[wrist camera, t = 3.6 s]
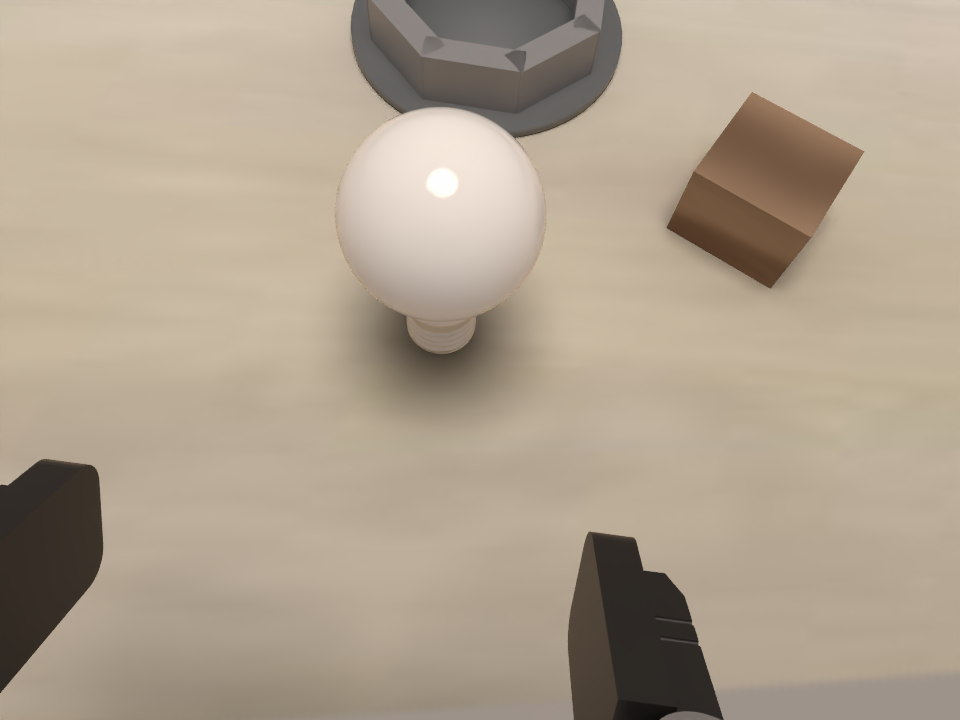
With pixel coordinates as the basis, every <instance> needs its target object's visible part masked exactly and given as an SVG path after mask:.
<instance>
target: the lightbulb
mask: <svg viewBox="0 0 960 720" xmlns="http://www.w3.org/2000/svg"><path fill="white" fill-rule="evenodd" d="M335 223H336V231H337V236H338V240H339V244H340V247H341V250H342V253H343V255H344V258H345V260H346V262H347V264H348V266H349V268H350V269H351V271H352V272H353V274H354V276H355V277H356V278H357V280H358V281H359V282H360V283H361V285H362V286H363V287H364V288H365V289H366V290H367V291H368V292H369V293H370V294H371V295H372V296H373V297H375V298H376V299H377V300H378V301H380V302H381V303H383V304H384V305H386V306H387V307H389V308H391V309H392V310H394V311H396V312H399V313H401V314H403V315H406V320H407V329H408V332H409V335H410V337H411V338H412V340H413V341H414V342H415V343H416V344H417V345H418V346H419V347H420V348H422V349H423V350H425V351H428V352H431V353H435V354H448V353H452V352H455V351H457V350H459V349H461V348H462V347H464V346H465V345H466V344H467V343H468V342H469V341H470V339H471V338H472V336H473V334H474V331H475V325H476V316H478V315H480V314H483V313H485V312H487V311H489V310H491V309H493V308H494V307H496V306H498V305H499V304H501V303H502V302H503V301H505V300H506V299H507V298H508V297H510V296H511V295H512V294H513V293H514V292H515V291H516V290H517V289H518V288H519V287H520V286H521V284H522V283H523V282H524V281H525V279H526V278H527V276H528V275H529V273H530V272H531V270H532V268H533V267H534V265H535V263H536V261H537V258H538V256H539V253H540V251H541V248H542V244H543V240H544V235H545V229H546V201H545V195H544V190H543V186H542V183H541V180H540V177H539V174H538V172H537V170H536V168H535V166H534V164H533V162H532V160H531V158H530V157H529V155H528V154H527V152H526V151H525V150H524V148H523V147H522V146H521V145H520V143H519V142H518V141H517V140H516V139H515V138H514V137H513V136H512V135H511V134H510V133H508V132H507V131H506V130H505V129H504V128H502V127H501V126H499V125H498V124H496V123H495V122H493V121H491V120H490V119H488V118H486V117H484V116H481V115H479V114H476V113H474V112H471V111H467V110H463V109H458V108H451V107H428V108H421V109H417V110H412V111H409V112H406V113H403V114H401V115H398V116H396V117H394V118H392V119H390V120H388V121H387V122H385V123H383V124H382V125H380V126H379V127H378V128H376V129H375V130H374V131H373V132H372V133H370V134H369V135H368V136H367V137H366V138H365V139H364V140H363V141H362V143H361V144H360V145H359V146H358V147H357V149H356V150H355V151H354V153H353V154H352V156H351V158H350V159H349V161H348V163H347V165H346V167H345V169H344V171H343V174H342V177H341V179H340V183H339V186H338V190H337V196H336V203H335Z"/></svg>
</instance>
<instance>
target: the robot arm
mask: <svg viewBox="0 0 960 720" xmlns="http://www.w3.org/2000/svg"><path fill="white" fill-rule="evenodd" d="M102 555H103V534H102V517H101V501H100V485H99V476H98V472H97V470H96V469H95V467H93V466H92V465H86V464H79V463H71V462H64V461H56V460H49V459H43V460H40V461H38V462H37V463H35V464H34V465H33V466H32V467H30V468H29V469H28V470H27V471H26V472H24V473H23V474H22V475H21V476H19V477H18V478H17V479H16V480H14V481H13V482H12V483H11V484H9V485H8V486H7V485H0V693H1V692H2V690H3V689H4V688H5V687H6V686H7V684H8V683H9V682H10V681H11V680H12V679H13V677H14V676H15V675H16V674H17V673H18V671H19V670H20V669H21V668H22V667H23V665H24V664H25V663H26V662H27V661H28V660H29V658H30V657H31V656H32V655H33V654H34V652H35V651H36V650H37V649H38V648H39V646H40V645H41V644H42V643H43V642H44V640H45V639H46V638H47V637H48V636H49V635H50V633H51V632H52V631H53V630H54V629H55V627H56V626H57V625H58V624H59V623H60V621H61V620H62V619H63V618H64V617H65V616H66V614H67V613H68V612H69V611H70V610H71V608H72V607H73V606H74V605H75V604H76V602H77V601H78V600H79V599H80V598H81V597H82V595H83V594H84V593H85V592H86V591H87V589H88V588H89V587H90V586H91V584H92V583H93V581H94V579H95V577H96V575H97V573H98V570H99V567H100V564H101V560H102ZM568 654H569V666H570V678H571V690H572V701H573V713H574V720H723V717H722V713H721V710H720V707H719V704H718V701H717V697H716V694H715V691H714V688H713V685H712V682H711V679H710V675H709V672H708V669H707V666H706V663H705V660H704V656H703V653H702V650H701V647H700V646H698V637H697V634H696V631H695V628H694V626H693V625H692V619H691V615H690V612H689V609H688V606H687V603H686V600H685V596H684V595H683V594H682V593H681V592H680V591H679V589H678V588H677V587H676V586H675V585H674V584H673V582H672V581H671V580H670V579H669V578H668V577H667V575H666V574H665V573H658V572H650V571H643V567H642V563H641V559H640V555H639V551H638V547H637V543H636V540H635V538H633V537H625V536H618V535H610V534H603V533H596V532H589V533H588V534H587V537H586V540H585V544H584V548H583V553H582V558H581V563H580V568H579V572H578V577H577V582H576V587H575V592H574V597H573V601H572V606H571V612H570V619H569V629H568Z"/></svg>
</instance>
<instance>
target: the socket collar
mask: <svg viewBox="0 0 960 720" xmlns="http://www.w3.org/2000/svg"><path fill="white" fill-rule="evenodd" d="M351 33H352V40H353V47H354V52H355V55H356V59H357V62H358V64H359V66H360V68H361V70H362V72H363V74H364V76H365V78H366V79H367V80H368V82H369V83H370V84H371V86H372V87H373V89H374V90H375V91H376V92H377V93H378V94H379V95H380V96H381V97H382V98H383V99H384V100H385V101H386V102H388V103H389V104H390V105H392V106H393V107H394V108H395V109H397V110H398V111H400V112H401V113H406V112H409V111H412V110H417V109H421V108H428V107H451V108H458V109H463V110H467V111H471V112H474V113H476V114H479V115H481V116H484V117H486V118H488V119H490V120H491V121H493V122H495V123H496V124H498V125H499V126H501V127H502V128H504V129H505V130H506V131H507V132H508V133H510V134H511V135H512V136H513V137H521V136H525V135H530V134H535V133H539V132H542V131H545V130H548V129H551V128H554V127H556V126H558V125H560V124H563V123H565V122H567V121H569V120H571V119H572V118H574V117H575V116H577V115H578V114H580V113H581V112H583V111H584V110H585V109H587V108H588V107H589V106H590V105H591V104H592V103H594V102H595V101H596V100H597V98H598V97H599V96H600V95H601V94H602V93H603V91H604V90H605V89H606V87H607V85H608V84H609V82H610V80H611V79H612V77H613V74H614V72H615V69H616V66H617V63H618V60H619V55H620V51H621V46H622V28H621V22H620V17H619V14H618V11H617V8H616V5H615V4H614V2H613V0H355V3H354V7H353V12H352V17H351Z"/></svg>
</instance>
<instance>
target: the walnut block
mask: <svg viewBox="0 0 960 720" xmlns="http://www.w3.org/2000/svg"><path fill="white" fill-rule="evenodd" d="M863 153H864V151H862V150H860V149H858V148H857V147H855V146H853V145H851V144H849V143H847V142H845V141H843V140H841V139H840V138H838V137H836V136H834V135H832V134H830V133H828V132H826V131H824V130H823V129H821V128H819V127H817V126H815V125H813V124H811V123H809V122H807V121H806V120H804V119H802V118H800V117H798V116H796V115H794V114H792V113H790V112H789V111H787V110H785V109H783V108H781V107H779V106H777V105H775V104H773V103H772V102H770V101H768V100H766V99H764V98H762V97H760V96H758V95H756V94H755V93H753V92H752V93H751V94H750V95H749V97H748V98H747V100H746V101H745V102H744V104H743V105H742V106H741V108H740V109H739V111H738V112H737V113H736V115H735V116H734V117H733V119H732V120H731V121H730V123H729V124H728V126H727V127H726V128H725V130H724V131H723V132H722V134H721V135H720V136H719V138H718V139H717V141H716V142H715V143H714V145H713V146H712V147H711V149H710V150H709V152H708V153H707V154H706V156H705V157H704V158H703V160H702V161H701V162H700V164H699V165H698V167H697V168H696V169H695V171H694V172H693V174H692V176H691V179H690V181H689V183H688V185H687V187H686V189H685V191H684V193H683V195H682V197H681V199H680V201H679V204H678V206H677V208H676V210H675V212H674V214H673V216H672V218H671V220H670V222H669V224H668V226H667V228H668V229H670V230H671V231H673V232H675V233H676V234H678V235H680V236H681V237H683V238H685V239H687V240H688V241H690V242H692V243H693V244H695V245H697V246H699V247H700V248H702V249H704V250H705V251H707V252H709V253H710V254H712V255H714V256H716V257H717V258H719V259H721V260H722V261H724V262H726V263H728V264H729V265H731V266H733V267H734V268H736V269H738V270H739V271H741V272H743V273H745V274H746V275H748V276H750V277H751V278H753V279H755V280H757V281H758V282H760V283H762V284H763V285H765V286H767V287H769V288H771V287H772V286H773V284H774V283H775V282H776V281H777V279H778V278H779V277H780V276H781V274H782V273H783V272H784V271H785V269H786V268H787V267H788V266H789V264H790V263H791V262H792V261H793V259H794V258H795V257H796V256H797V254H798V253H799V252H800V251H801V250H802V248H803V247H804V246H805V245H806V243H807V242H808V241H809V240H810V238H811V237H812V235H813V234H814V232H815V231H816V229H817V227H818V226H819V224H820V222H821V221H822V219H823V218H824V216H825V214H826V213H827V211H828V209H829V208H830V206H831V205H832V203H833V201H834V200H835V198H836V197H837V195H838V193H839V192H840V190H841V188H842V187H843V185H844V184H845V182H846V180H847V179H848V177H849V175H850V174H851V172H852V171H853V169H854V167H855V166H856V164H857V162H858V161H859V159H860V158H861V156H862V154H863Z"/></svg>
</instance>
